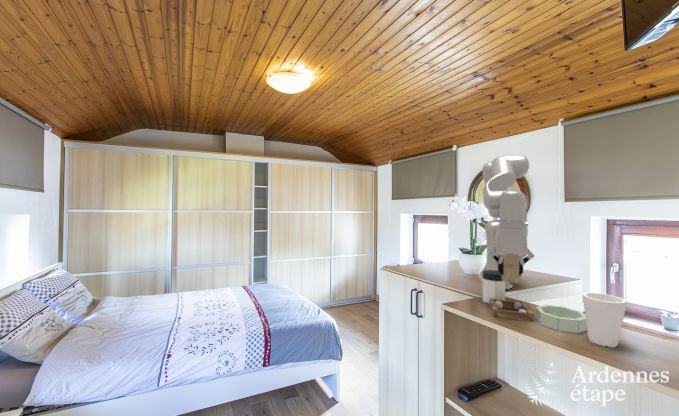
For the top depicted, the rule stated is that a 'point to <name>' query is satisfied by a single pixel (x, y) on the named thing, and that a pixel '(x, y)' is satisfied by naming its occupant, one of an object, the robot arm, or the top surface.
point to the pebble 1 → (499, 304)
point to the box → (511, 268)
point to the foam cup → (604, 318)
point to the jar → (492, 286)
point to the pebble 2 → (517, 306)
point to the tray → (511, 314)
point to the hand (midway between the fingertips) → (510, 274)
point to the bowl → (561, 318)
